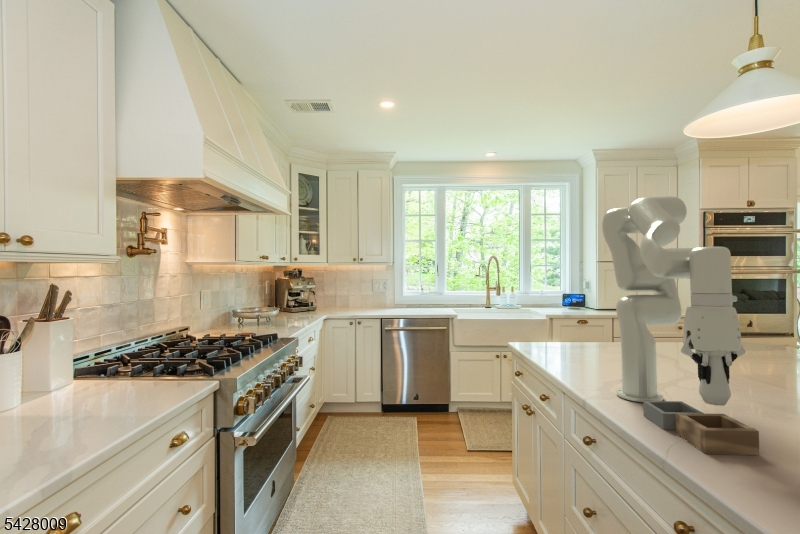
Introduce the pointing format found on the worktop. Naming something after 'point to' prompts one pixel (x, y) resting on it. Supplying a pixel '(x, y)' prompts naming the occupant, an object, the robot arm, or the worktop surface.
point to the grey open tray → (666, 412)
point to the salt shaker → (715, 381)
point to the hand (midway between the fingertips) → (713, 381)
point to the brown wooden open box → (717, 434)
